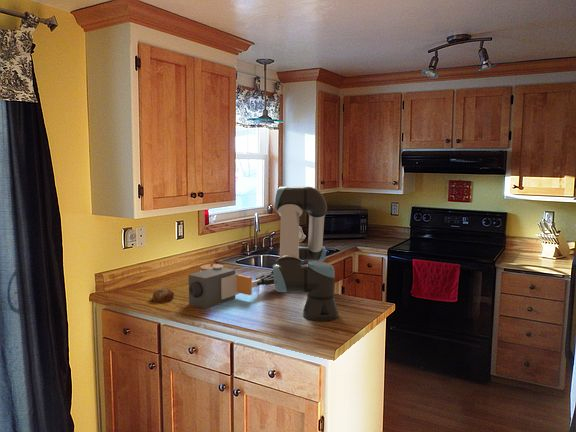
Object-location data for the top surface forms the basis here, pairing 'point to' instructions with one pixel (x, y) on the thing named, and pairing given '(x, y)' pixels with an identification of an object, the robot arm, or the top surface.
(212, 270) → the box
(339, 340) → the top surface
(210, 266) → the lidded bowl
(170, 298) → the bread roll
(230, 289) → the door
